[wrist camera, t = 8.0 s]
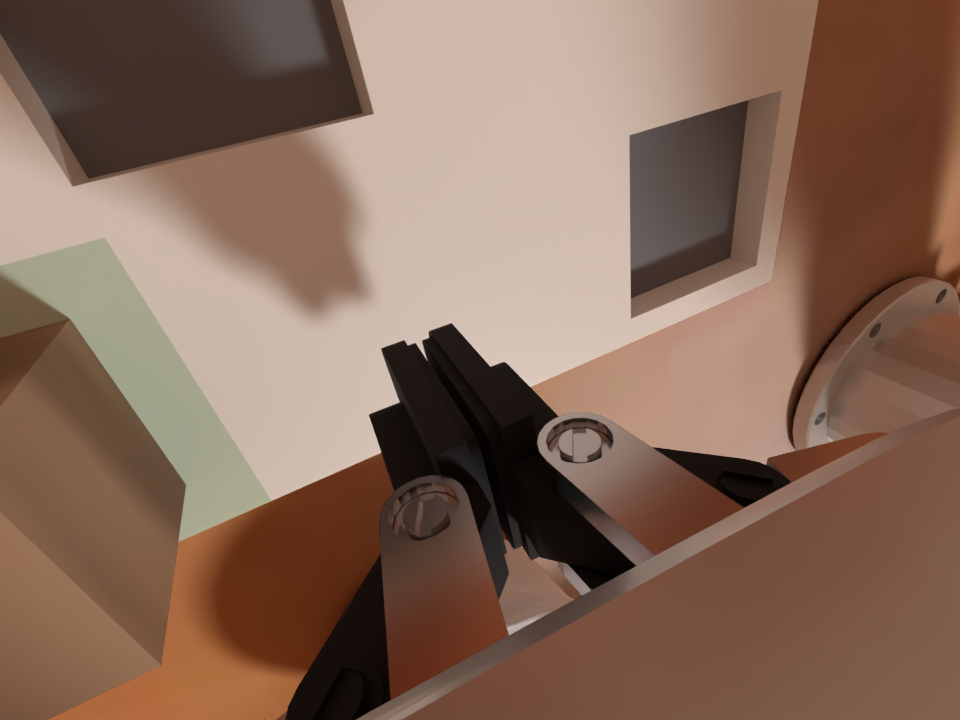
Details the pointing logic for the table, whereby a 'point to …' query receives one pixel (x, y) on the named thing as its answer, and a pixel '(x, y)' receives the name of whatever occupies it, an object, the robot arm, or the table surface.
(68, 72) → the trap deck
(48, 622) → the walnut block
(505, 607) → the ramekin
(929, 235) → the table surface
